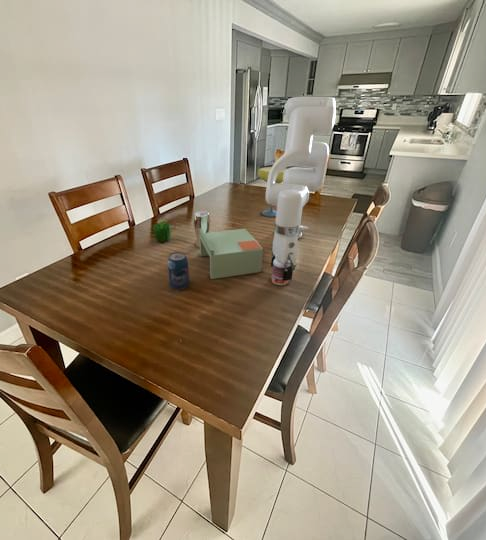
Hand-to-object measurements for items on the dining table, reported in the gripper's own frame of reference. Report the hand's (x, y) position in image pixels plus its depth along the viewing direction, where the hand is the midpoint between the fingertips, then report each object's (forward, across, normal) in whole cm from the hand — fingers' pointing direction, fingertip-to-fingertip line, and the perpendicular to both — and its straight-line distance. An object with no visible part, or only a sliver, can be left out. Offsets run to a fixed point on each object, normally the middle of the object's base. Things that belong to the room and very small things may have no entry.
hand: (280, 272), depth 106 cm
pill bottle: (+4, 0, 0) cm, 4 cm away
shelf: (+4, +18, +14) cm, 23 cm away
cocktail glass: (+3, +67, -26) cm, 72 cm away
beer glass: (+4, +37, +21) cm, 43 cm away
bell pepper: (+4, +47, +38) cm, 61 cm away
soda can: (+4, +7, +36) cm, 37 cm away
